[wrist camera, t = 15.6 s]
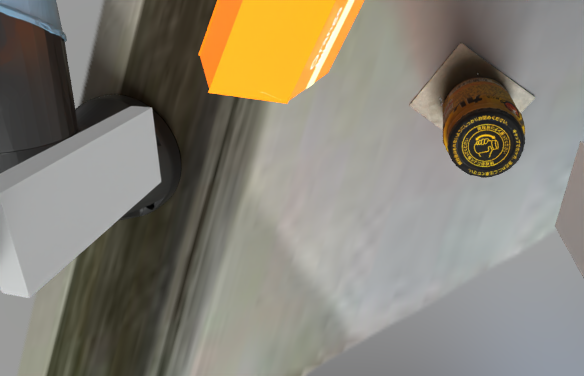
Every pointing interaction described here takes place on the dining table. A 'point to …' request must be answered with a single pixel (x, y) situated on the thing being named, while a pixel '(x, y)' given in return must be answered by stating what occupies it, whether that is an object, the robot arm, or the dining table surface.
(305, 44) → the orange juice
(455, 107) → the condiment
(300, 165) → the dining table surface
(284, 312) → the dining table surface
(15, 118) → the robot arm
